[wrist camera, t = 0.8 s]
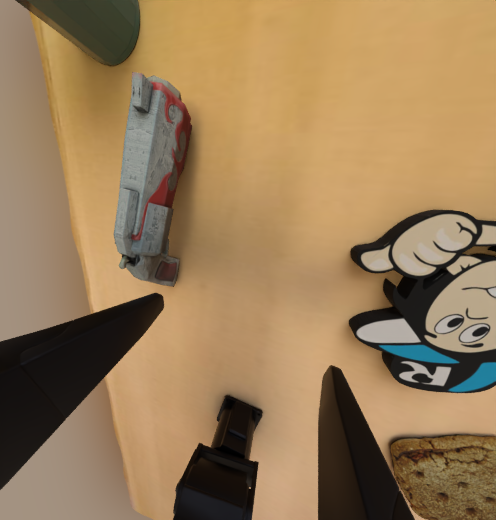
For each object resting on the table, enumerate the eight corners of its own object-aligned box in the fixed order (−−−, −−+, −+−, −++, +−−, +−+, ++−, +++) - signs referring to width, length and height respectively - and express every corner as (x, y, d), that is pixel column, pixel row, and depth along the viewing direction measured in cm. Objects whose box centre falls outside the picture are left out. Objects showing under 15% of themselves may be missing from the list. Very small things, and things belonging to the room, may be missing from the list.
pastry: (460, 525, 27) (479, 561, 25) (354, 464, 28) (361, 492, 26) (580, 476, 21) (624, 517, 19) (440, 401, 22) (461, 429, 20)
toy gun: (215, 137, 23) (166, 58, 13) (184, 286, 25) (125, 316, 16) (183, 131, 23) (112, 51, 13) (156, 278, 26) (82, 300, 16)
